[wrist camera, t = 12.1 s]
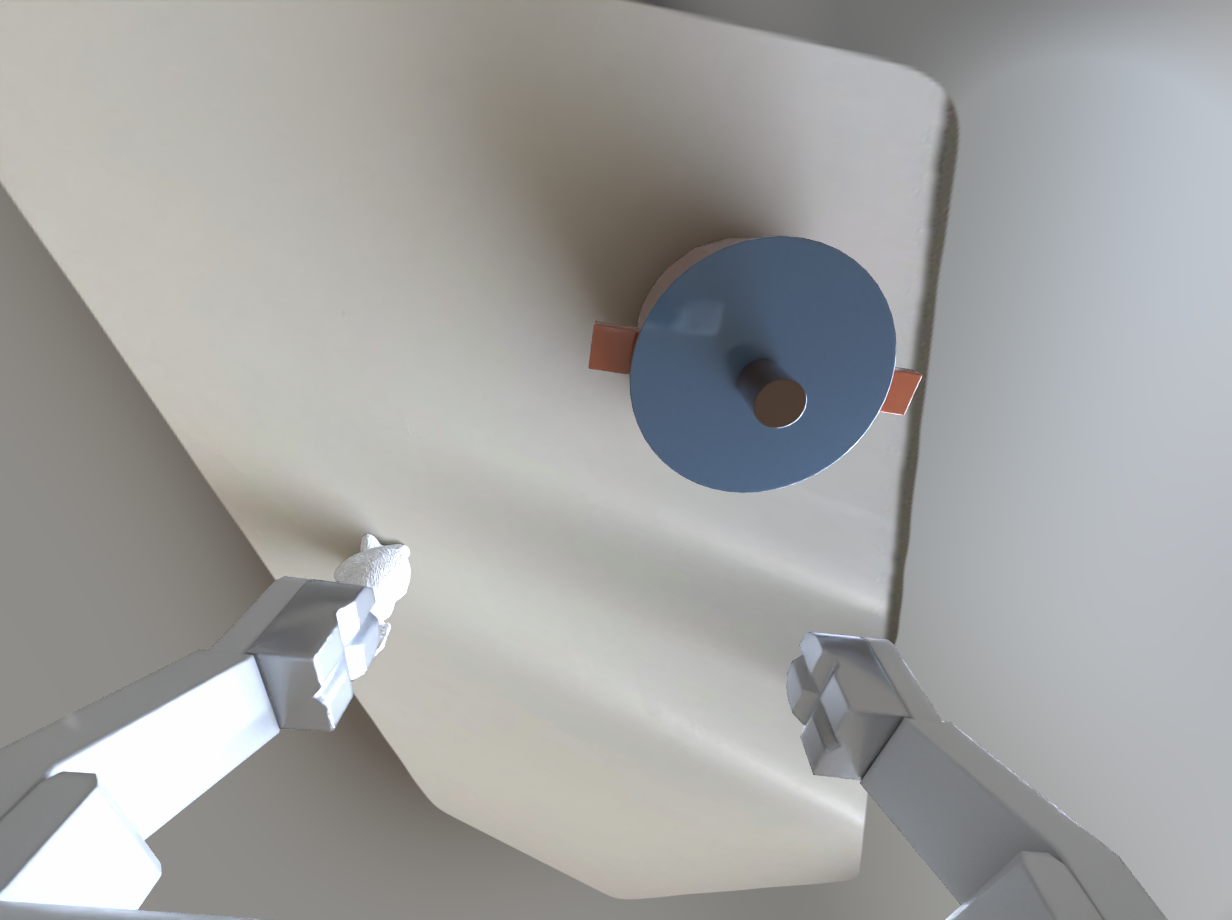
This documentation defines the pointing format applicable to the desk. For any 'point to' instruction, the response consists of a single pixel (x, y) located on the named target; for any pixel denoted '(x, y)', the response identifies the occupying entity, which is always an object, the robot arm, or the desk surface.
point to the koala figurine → (378, 577)
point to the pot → (618, 340)
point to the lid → (762, 364)
